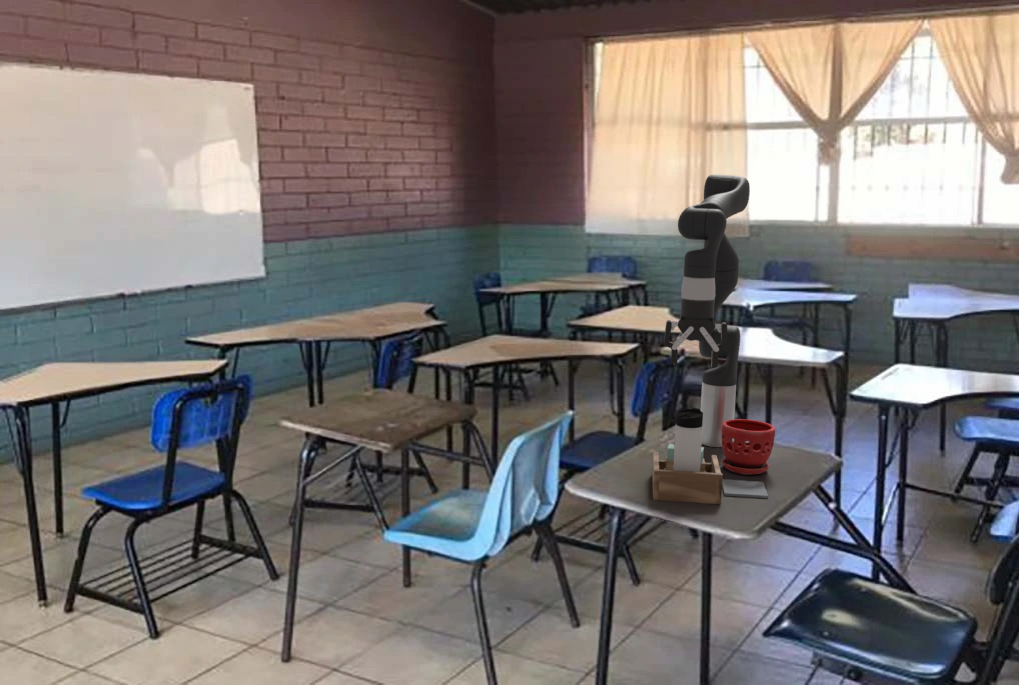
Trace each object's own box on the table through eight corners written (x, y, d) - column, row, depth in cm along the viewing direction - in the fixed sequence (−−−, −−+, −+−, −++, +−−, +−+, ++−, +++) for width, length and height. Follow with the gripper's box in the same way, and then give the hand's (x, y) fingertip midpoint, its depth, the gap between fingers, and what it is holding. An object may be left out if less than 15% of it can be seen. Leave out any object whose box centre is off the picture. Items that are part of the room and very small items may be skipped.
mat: (721, 481, 236) (721, 479, 236) (762, 484, 235) (763, 481, 235) (724, 495, 227) (724, 493, 226) (768, 498, 225) (768, 495, 225)
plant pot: (773, 479, 239) (777, 433, 236) (719, 475, 241) (722, 429, 239) (770, 463, 251) (773, 419, 249) (719, 459, 254) (721, 415, 251)
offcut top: (668, 455, 237) (669, 443, 237) (703, 459, 235) (703, 447, 235) (666, 459, 234) (667, 448, 233) (701, 463, 232) (702, 451, 231)
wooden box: (652, 474, 240) (653, 447, 239) (715, 478, 238) (716, 451, 237) (653, 499, 223) (654, 470, 222) (720, 504, 221) (722, 474, 220)
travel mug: (704, 492, 229) (709, 410, 225) (689, 499, 224) (694, 415, 220) (681, 485, 233) (686, 405, 229) (666, 492, 228) (671, 410, 224)
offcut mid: (665, 468, 237) (666, 456, 237) (703, 470, 236) (703, 458, 236) (666, 473, 233) (666, 461, 233) (704, 475, 232) (705, 463, 232)
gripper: (728, 295, 223) (723, 364, 226) (666, 293, 224) (662, 361, 227) (731, 300, 215) (726, 371, 218) (666, 297, 217) (663, 367, 220)
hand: (693, 366), depth 223 cm, fingers open, 8 cm apart
